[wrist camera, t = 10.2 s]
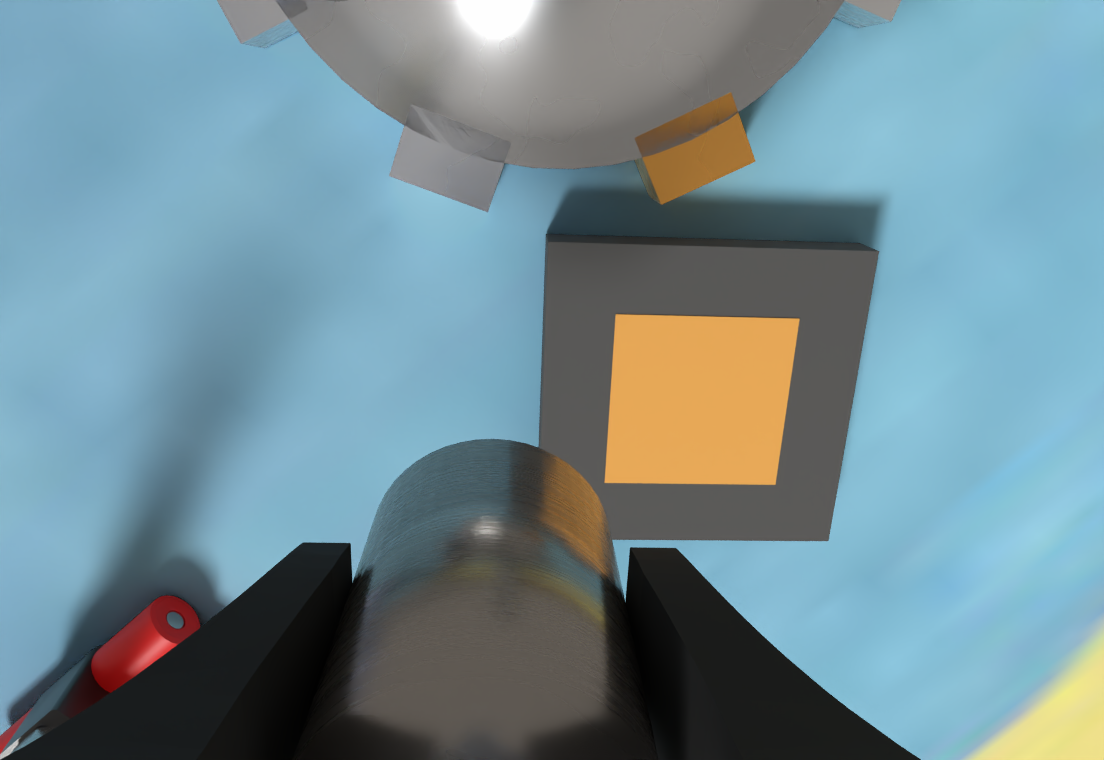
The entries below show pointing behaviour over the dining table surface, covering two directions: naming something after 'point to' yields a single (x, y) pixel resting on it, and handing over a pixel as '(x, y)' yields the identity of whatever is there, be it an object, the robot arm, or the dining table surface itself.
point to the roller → (483, 622)
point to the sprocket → (558, 78)
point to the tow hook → (105, 669)
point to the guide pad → (704, 379)
